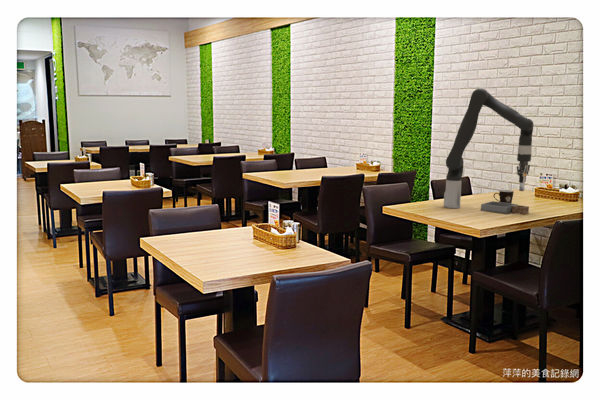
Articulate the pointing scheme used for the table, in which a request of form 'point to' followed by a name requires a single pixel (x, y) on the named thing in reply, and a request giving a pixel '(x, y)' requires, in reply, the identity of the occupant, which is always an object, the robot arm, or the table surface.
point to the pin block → (520, 209)
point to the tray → (497, 207)
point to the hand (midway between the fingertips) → (522, 182)
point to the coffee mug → (505, 196)
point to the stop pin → (522, 184)
